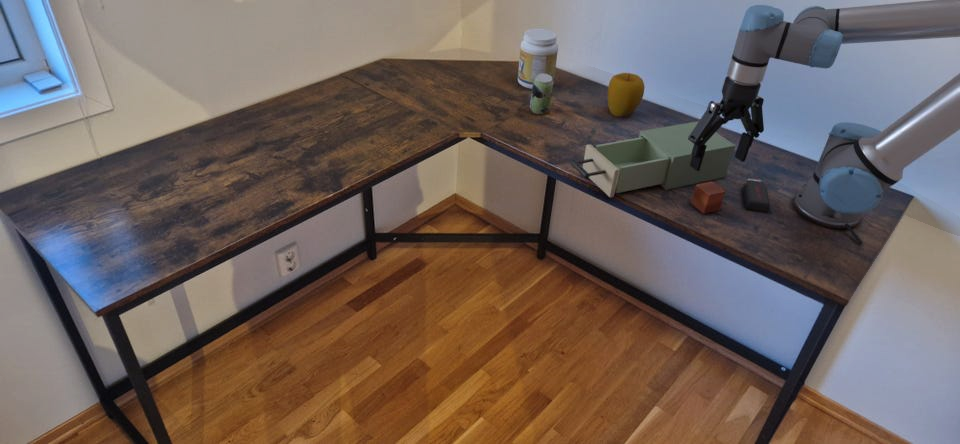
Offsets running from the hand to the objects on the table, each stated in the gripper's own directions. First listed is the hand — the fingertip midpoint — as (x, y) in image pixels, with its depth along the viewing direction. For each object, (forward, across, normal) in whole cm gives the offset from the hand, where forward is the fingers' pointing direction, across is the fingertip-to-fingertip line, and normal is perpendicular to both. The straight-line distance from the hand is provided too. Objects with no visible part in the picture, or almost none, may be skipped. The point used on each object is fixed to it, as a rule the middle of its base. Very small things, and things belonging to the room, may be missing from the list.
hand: (717, 163), depth 154 cm
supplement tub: (+13, +6, -80) cm, 81 cm away
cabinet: (+12, -5, -17) cm, 21 cm away
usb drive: (+12, -15, +1) cm, 20 cm away
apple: (+13, -9, -51) cm, 53 cm away
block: (+12, 0, 0) cm, 12 cm away
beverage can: (+13, +15, -60) cm, 63 cm away
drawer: (+12, +15, -17) cm, 25 cm away
